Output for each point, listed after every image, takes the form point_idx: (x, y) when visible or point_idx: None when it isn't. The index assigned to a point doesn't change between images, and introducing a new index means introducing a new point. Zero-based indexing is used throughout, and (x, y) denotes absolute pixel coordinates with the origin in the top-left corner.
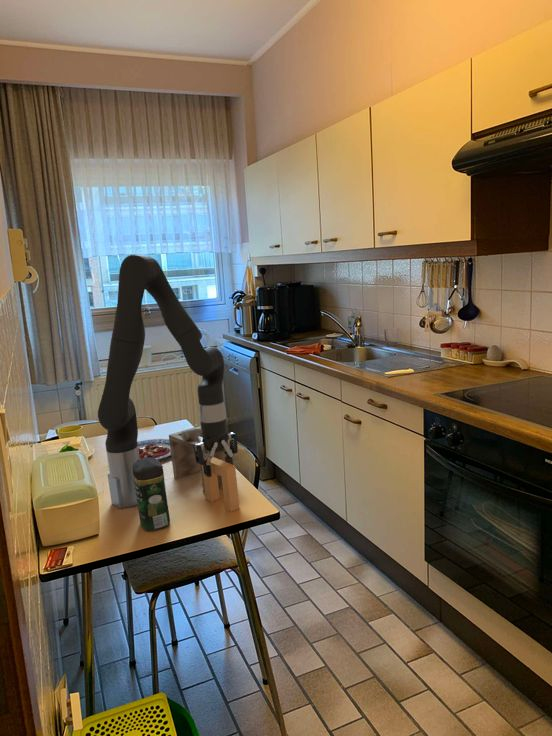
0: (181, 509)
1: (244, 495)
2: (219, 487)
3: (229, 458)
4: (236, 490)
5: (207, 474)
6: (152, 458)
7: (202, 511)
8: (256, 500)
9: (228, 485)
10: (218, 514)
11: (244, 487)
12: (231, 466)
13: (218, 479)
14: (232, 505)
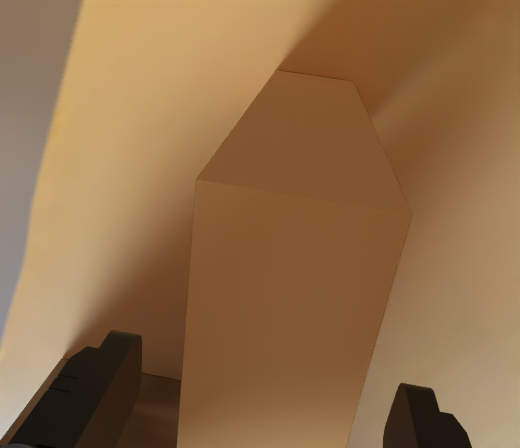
0: (476, 376)
1: (118, 188)
2: (151, 379)
3: (69, 442)
4: (272, 95)
5: (454, 426)
6: None
7: (441, 257)
8: (113, 55)
9: (369, 129)
10: (429, 132)
11: (47, 267)
12: (269, 208)
13: (134, 419)
14: (336, 85)
